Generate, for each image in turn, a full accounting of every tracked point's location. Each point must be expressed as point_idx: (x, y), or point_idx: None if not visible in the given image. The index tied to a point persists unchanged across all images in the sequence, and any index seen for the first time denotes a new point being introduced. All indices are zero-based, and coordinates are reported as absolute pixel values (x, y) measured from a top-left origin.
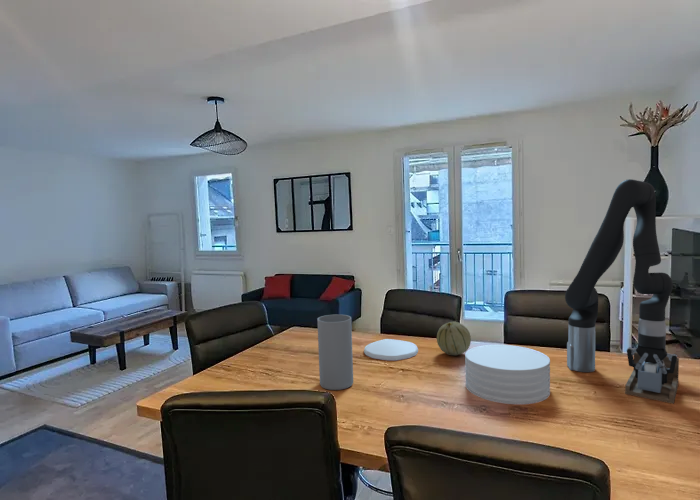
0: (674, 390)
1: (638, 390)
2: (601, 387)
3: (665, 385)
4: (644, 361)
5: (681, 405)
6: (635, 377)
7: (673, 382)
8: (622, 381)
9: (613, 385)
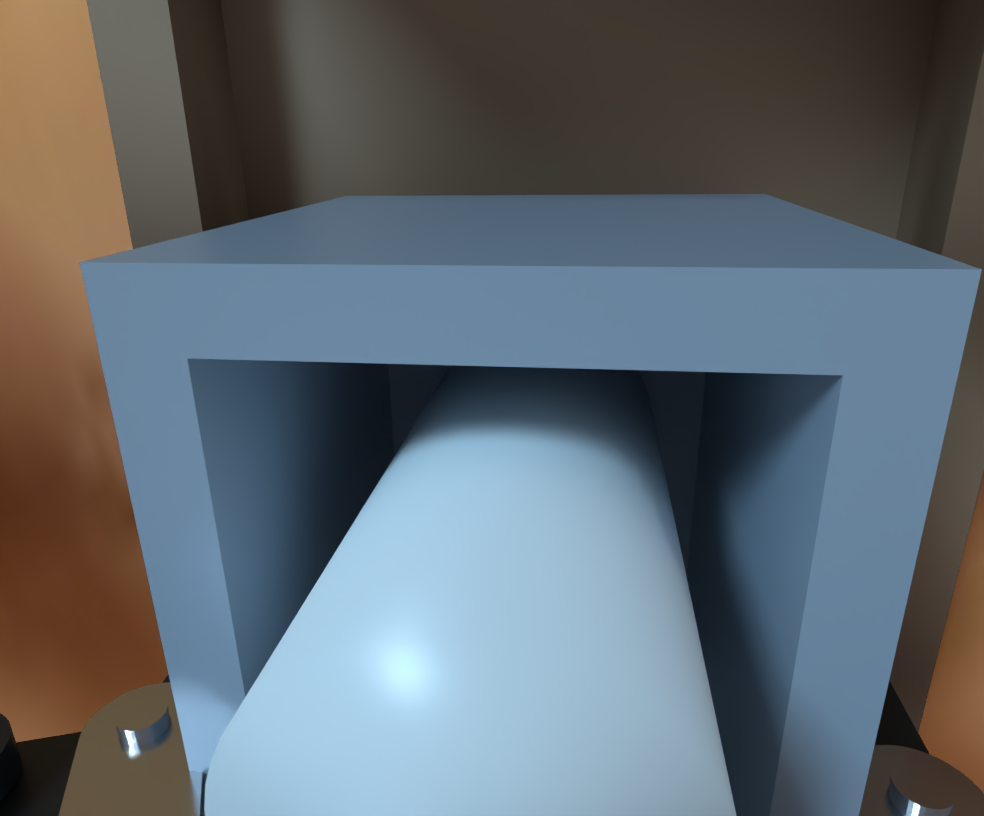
0: (923, 671)
1: None
2: (9, 621)
3: (780, 169)
4: (162, 329)
5: (928, 751)
6: (218, 75)
7: (980, 182)
8: (98, 200)
9: (77, 471)
